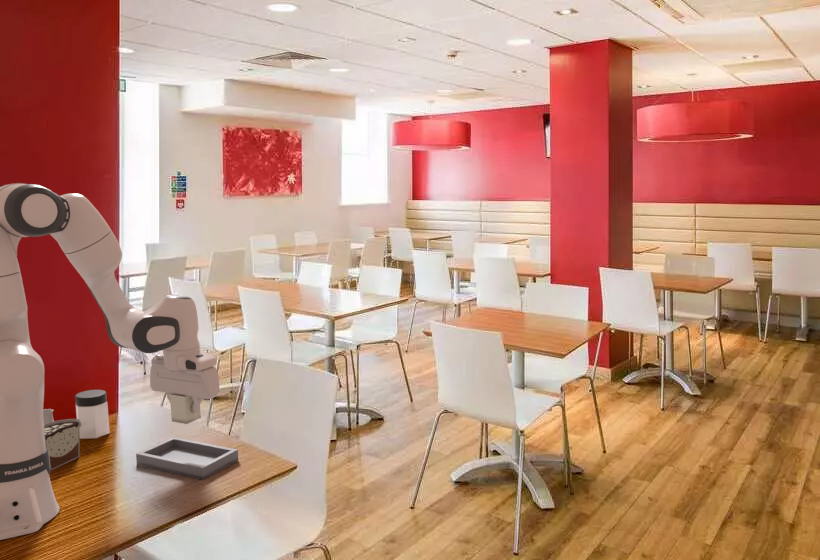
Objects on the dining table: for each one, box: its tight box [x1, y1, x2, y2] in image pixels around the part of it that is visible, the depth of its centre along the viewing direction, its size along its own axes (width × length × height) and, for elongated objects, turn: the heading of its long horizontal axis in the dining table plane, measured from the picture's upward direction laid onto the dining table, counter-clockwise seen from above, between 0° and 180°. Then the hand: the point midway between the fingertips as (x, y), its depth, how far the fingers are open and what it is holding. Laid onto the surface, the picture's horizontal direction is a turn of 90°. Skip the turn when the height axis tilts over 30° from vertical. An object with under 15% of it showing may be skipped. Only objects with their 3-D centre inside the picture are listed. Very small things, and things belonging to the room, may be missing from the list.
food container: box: [44, 418, 81, 472], centre depth 179 cm, size 12×6×10 cm, turn 161°
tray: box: [135, 436, 239, 481], centre depth 178 cm, size 13×22×3 cm, turn 64°
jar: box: [74, 389, 110, 440], centre depth 199 cm, size 9×8×12 cm
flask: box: [43, 408, 55, 425], centre depth 191 cm, size 7×7×10 cm
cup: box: [169, 394, 202, 425], centre depth 176 cm, size 5×5×8 cm
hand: (185, 411), depth 177 cm, fingers closed on cup, 5 cm apart
